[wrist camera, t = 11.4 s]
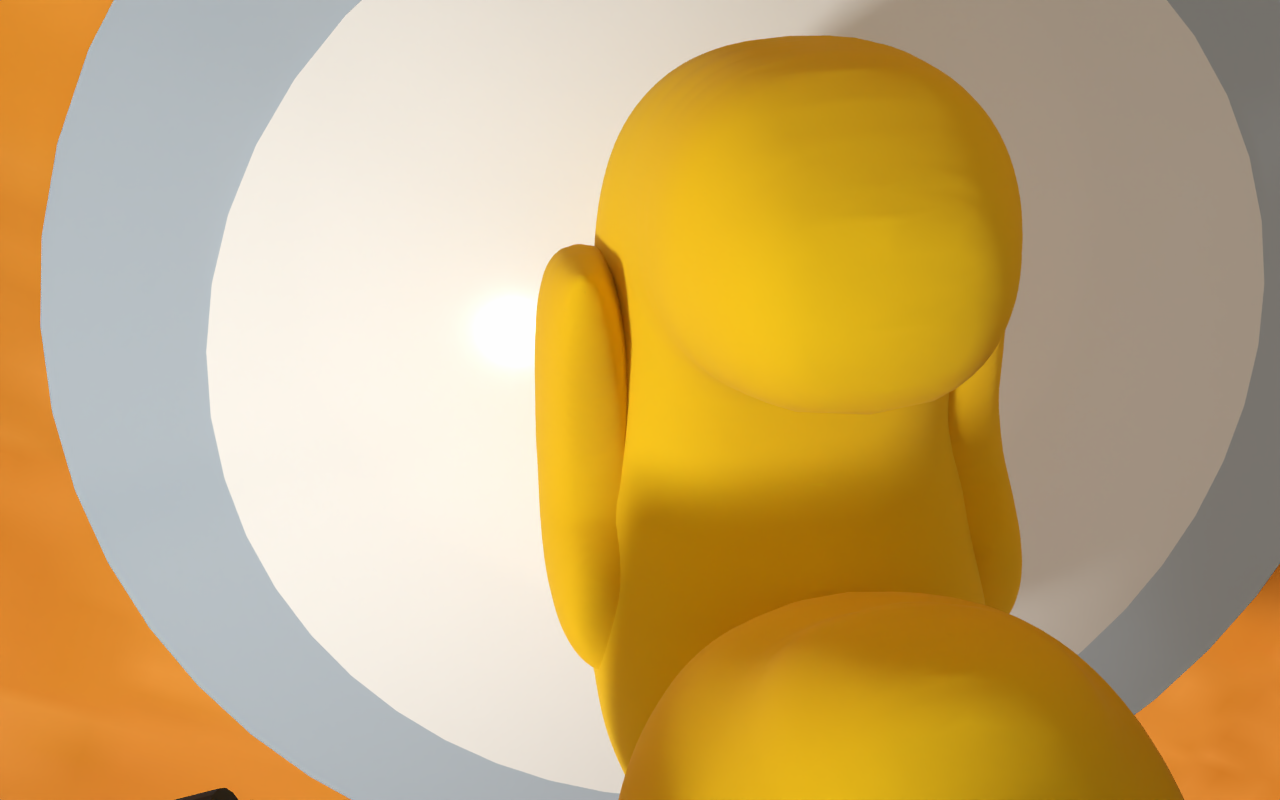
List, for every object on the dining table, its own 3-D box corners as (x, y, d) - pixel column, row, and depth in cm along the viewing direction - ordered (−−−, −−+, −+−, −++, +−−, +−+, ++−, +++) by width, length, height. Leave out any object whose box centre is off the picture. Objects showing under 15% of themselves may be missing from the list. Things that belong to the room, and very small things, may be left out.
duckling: (909, 726, 18) (1280, 1584, 9) (569, 761, 18) (623, 1687, 9) (970, -36, 13) (1916, 277, 4) (495, -8, 13) (450, 400, 4)
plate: (-223, -151, 13) (-290, -147, 12) (1406, -575, 12) (1491, -611, 11) (342, 928, 21) (333, 989, 20) (1323, 692, 21) (1367, 740, 19)
